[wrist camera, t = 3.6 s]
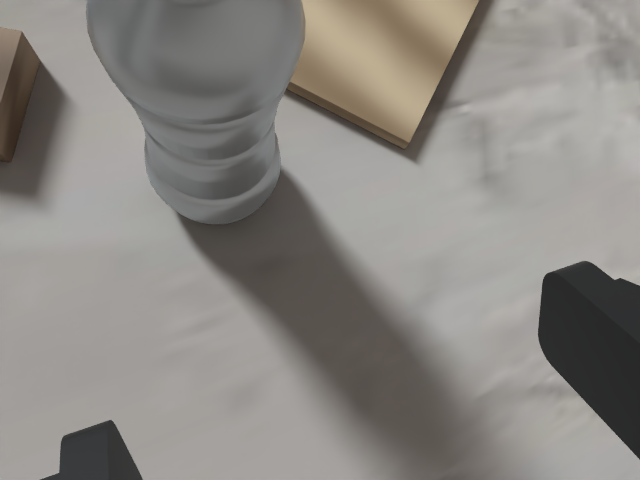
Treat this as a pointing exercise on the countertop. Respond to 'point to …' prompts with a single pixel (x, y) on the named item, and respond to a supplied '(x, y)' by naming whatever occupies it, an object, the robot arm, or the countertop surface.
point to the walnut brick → (14, 86)
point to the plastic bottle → (203, 93)
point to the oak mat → (378, 59)
